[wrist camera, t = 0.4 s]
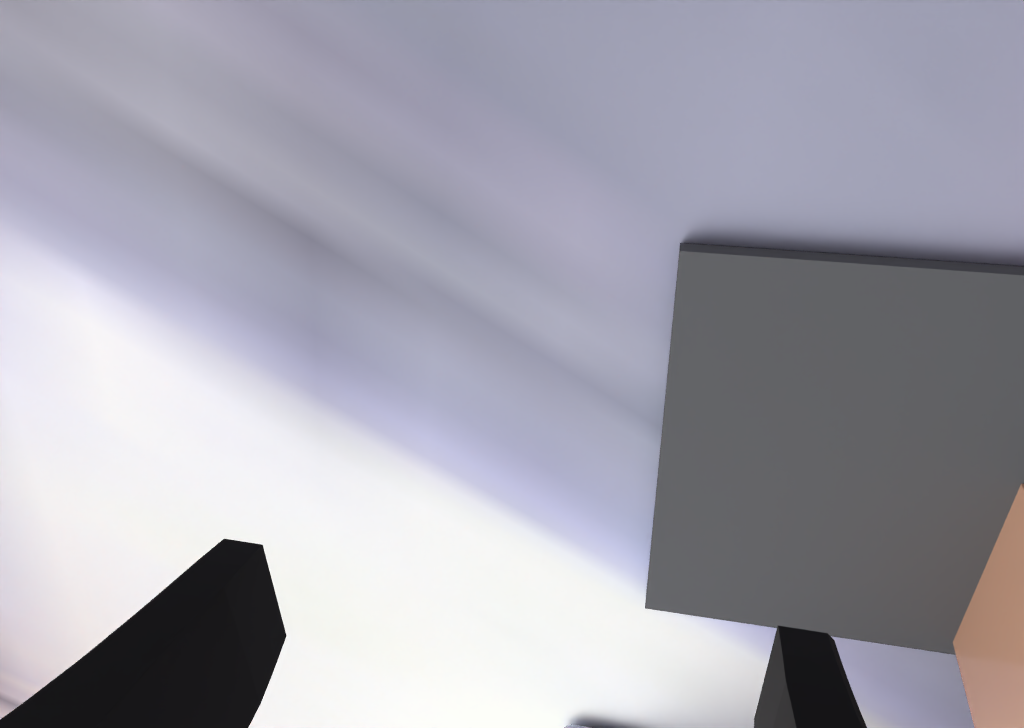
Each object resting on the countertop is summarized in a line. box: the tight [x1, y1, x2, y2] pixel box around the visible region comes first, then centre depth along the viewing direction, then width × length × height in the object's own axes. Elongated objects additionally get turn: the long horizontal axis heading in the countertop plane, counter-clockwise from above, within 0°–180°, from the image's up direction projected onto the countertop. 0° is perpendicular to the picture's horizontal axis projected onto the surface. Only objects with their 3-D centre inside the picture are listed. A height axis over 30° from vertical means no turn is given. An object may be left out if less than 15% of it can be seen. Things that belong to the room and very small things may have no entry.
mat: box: [645, 243, 1024, 655], centre depth 20 cm, size 12×17×1 cm
